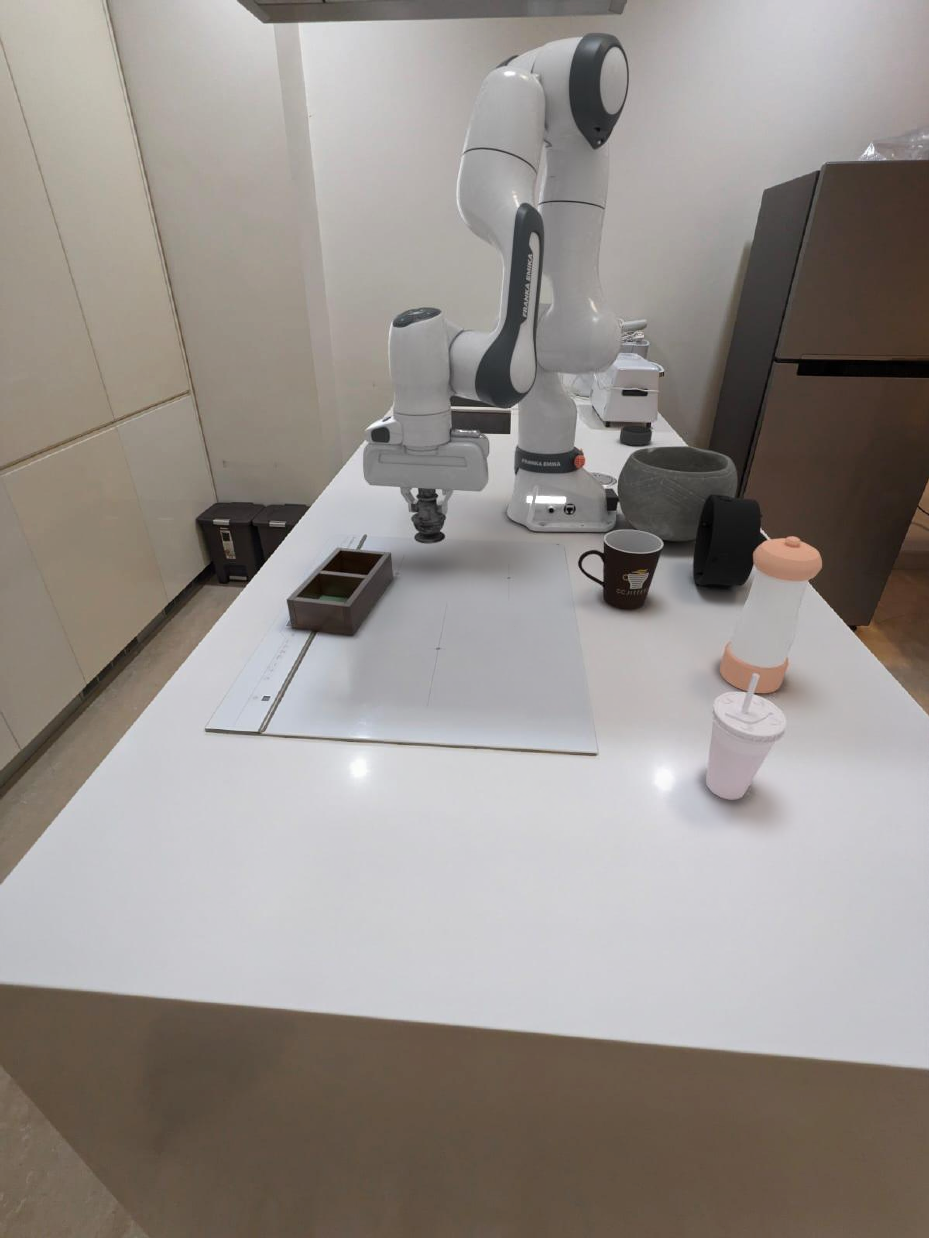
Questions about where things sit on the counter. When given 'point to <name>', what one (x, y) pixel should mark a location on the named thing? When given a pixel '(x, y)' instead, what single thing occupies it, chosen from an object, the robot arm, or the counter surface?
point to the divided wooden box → (341, 591)
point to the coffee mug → (627, 567)
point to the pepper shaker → (770, 614)
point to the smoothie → (741, 739)
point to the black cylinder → (726, 541)
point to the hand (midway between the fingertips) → (428, 512)
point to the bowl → (672, 488)
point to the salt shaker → (428, 518)
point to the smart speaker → (635, 435)
